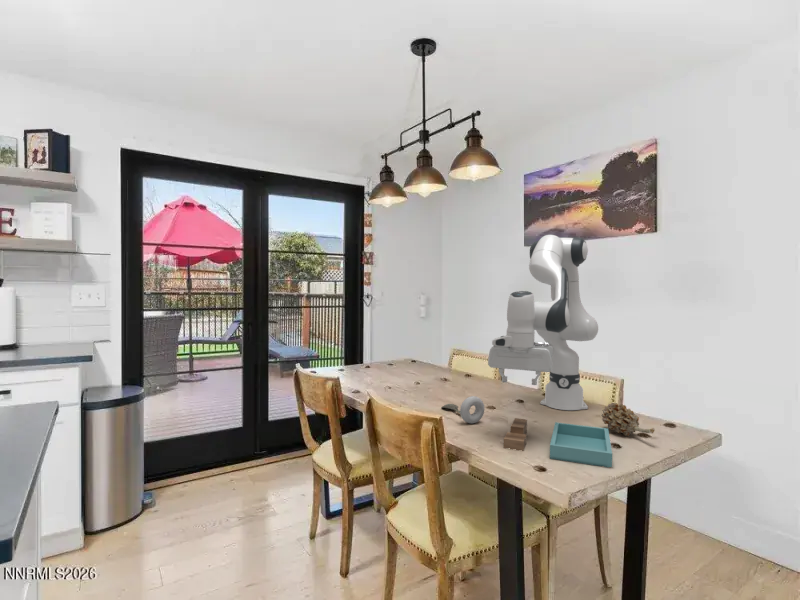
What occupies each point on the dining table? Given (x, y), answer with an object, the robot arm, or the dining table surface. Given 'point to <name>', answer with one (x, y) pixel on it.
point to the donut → (466, 407)
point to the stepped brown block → (516, 435)
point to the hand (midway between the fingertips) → (519, 383)
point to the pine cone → (622, 419)
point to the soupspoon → (451, 407)
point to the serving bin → (581, 444)
